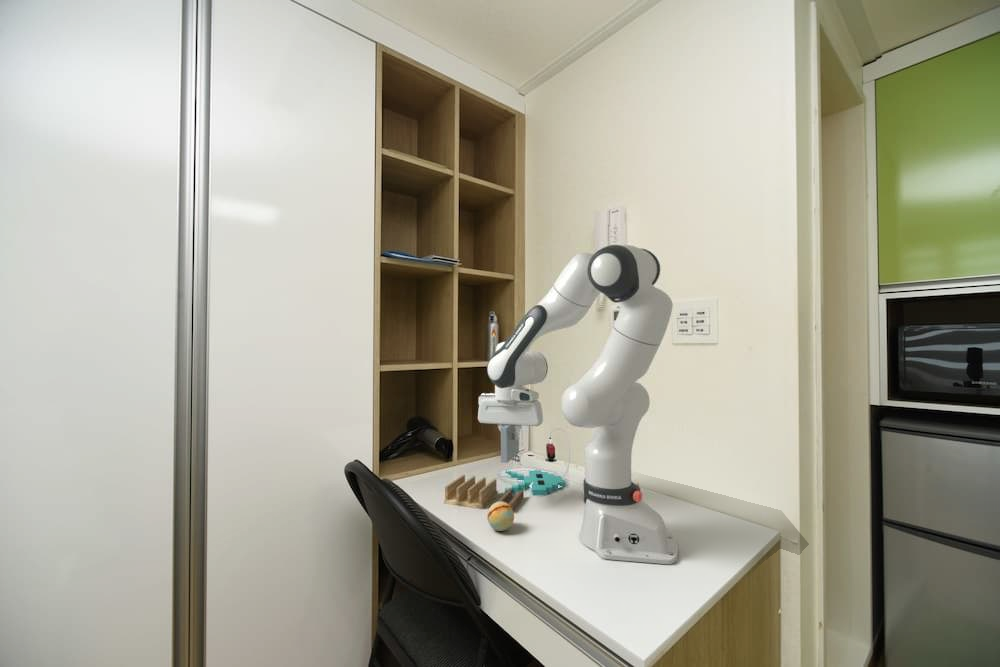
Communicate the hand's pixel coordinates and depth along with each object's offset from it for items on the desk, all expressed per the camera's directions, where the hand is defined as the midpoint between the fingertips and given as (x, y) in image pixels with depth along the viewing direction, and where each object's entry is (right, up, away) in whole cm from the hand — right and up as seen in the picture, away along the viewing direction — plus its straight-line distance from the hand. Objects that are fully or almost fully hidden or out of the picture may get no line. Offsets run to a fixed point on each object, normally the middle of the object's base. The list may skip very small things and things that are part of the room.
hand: (510, 439), depth 116 cm
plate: (0, -6, 0) cm, 6 cm away
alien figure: (+9, -21, +16) cm, 28 cm away
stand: (0, -20, -1) cm, 20 cm away
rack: (-12, -20, +4) cm, 24 cm away
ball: (-3, -19, -17) cm, 26 cm away
